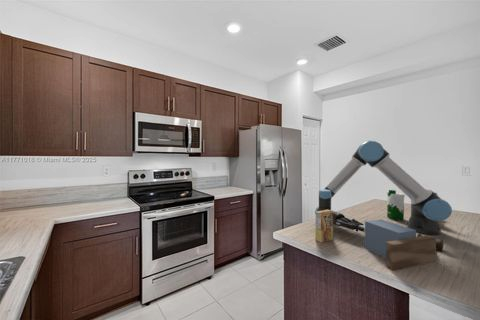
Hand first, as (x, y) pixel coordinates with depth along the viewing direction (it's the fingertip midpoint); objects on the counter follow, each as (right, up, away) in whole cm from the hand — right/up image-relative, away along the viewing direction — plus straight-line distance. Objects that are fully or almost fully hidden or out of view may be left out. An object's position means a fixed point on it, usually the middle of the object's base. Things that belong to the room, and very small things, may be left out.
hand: (370, 231), depth 104 cm
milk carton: (+44, -6, +43) cm, 62 cm away
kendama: (+24, -7, -5) cm, 25 cm away
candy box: (-20, -7, +7) cm, 23 cm away
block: (+3, -7, -9) cm, 11 cm away
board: (+6, -7, -18) cm, 20 cm away
